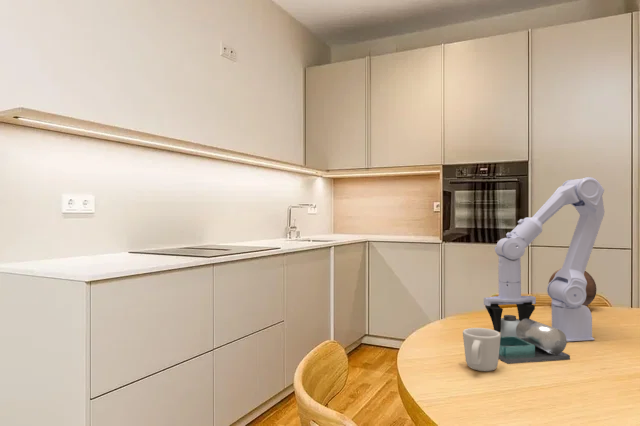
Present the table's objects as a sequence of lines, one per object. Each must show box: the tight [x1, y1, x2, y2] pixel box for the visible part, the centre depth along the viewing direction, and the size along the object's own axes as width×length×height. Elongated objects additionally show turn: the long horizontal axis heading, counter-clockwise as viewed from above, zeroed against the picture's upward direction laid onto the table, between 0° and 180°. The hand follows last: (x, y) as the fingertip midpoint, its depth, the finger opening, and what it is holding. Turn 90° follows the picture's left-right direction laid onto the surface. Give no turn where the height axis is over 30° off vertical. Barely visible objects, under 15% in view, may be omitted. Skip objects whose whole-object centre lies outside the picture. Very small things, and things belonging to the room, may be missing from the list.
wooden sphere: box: [548, 268, 597, 307], centre depth 161 cm, size 15×15×15 cm
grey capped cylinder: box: [499, 314, 520, 337], centre depth 124 cm, size 5×5×6 cm
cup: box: [462, 327, 501, 372], centre depth 99 cm, size 11×8×8 cm
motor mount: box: [498, 318, 571, 365], centre depth 110 cm, size 16×13×7 cm
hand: (509, 330), depth 124 cm, fingers open, 7 cm apart
